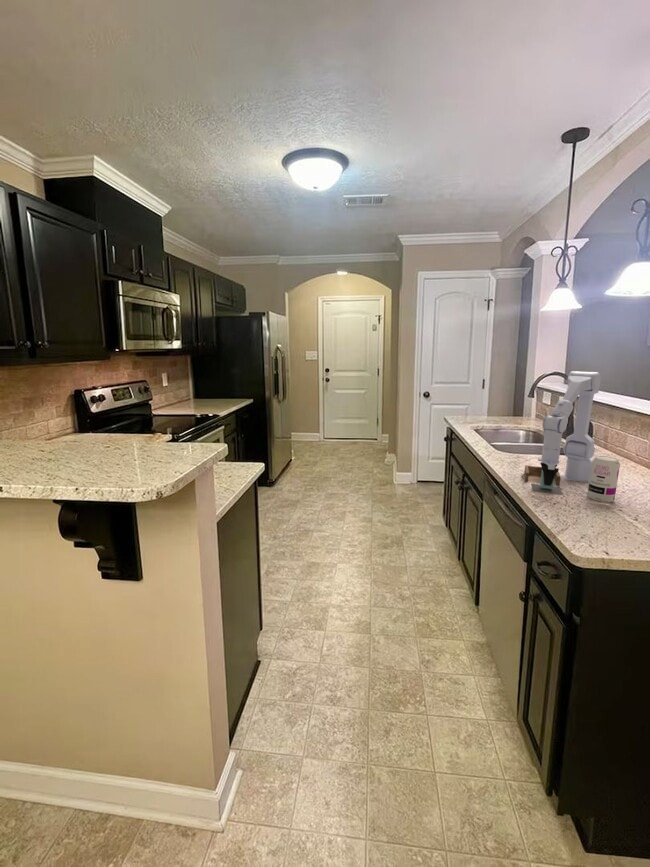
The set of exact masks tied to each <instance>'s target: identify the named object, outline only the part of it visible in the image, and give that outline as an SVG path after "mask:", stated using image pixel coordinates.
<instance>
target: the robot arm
mask: <svg viewBox="0 0 650 867" xmlns="http://www.w3.org/2000/svg"><path fill="white" fill-rule="evenodd" d="M566 380H567V382H566V383H567V388H566V391H565V394H564V395H563V398H562V399H561V400H559V401H557V402H556V404H555V406H554V408H553V409H552V411H551V413H550V415H548V416H545V417H544V418H543V421H542V424H541V426H542V435H543V436H544V437H543V444H542V453H541V457H540V458H539V457H538V458H537V461H539V462H540V467H542V470H543V473H544V484H545V485H548V486H551V484H552V482H553V479H554V477H555V475H556V473H557V472H559V470H560V469H559V467H558V465H559V463H560V455H561V447H562V446H561V445H562V439H563V433H564V432H565V431H566V429H567V427H568V426H567V424H568V421H569V419H568V418H569V417H570V415H571V413H572V412H573V410H574V405H573V403H574V402H576V399H577V398H578V400H577V401H578V402H577V408H576V415H575V420H574V421H575V422H574V428H573V433H571V434H570V435H569V436H567V437H566V438H565V442H564V445H563V449H562V452H563V453H564V455H565V457H566V458H567V459H566V463H565V464H566V466H565V473H563V474H562V476H563V478H564V480H566V481H575V482H583V483H589V479H590V472H591V465H592V461H593V459H592V458H593V456H594V455H595V454H594V453H595V443H596V442H595V440H594V438H592V437H591V436H590V435H589V434H588V432H589V429H590V428H589V427H590V422H591V414H592V407H593V403H594V402H593V401H594V397H595V394H598V393H599V391H600V388H601V382H602V378H601V374H600V373H599V372H598V371H596V372H594V371H590V372H589V371H576V370H572V371H570V373H569V374H568V376H567V379H566ZM557 467H558V468H557Z"/></svg>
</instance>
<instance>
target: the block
mask: <svg viewBox="0 0 650 867" xmlns="http://www.w3.org/2000/svg"><path fill="white" fill-rule="evenodd" d="M553 484H554V479H553V482H552V484H551V486H548V485H545V484H544V473H543V470H542V473H541V482H540V483H539V485H540V486H541V488H548V489H553V486H554V485H553Z"/></svg>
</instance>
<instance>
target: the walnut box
mask: <svg viewBox="0 0 650 867" xmlns="http://www.w3.org/2000/svg"><path fill="white" fill-rule="evenodd" d="M541 473H542V467H541V466H537V465H536V466H534V465H524V481H525V482H526V483H532V484H540V482H541ZM560 482H561V474H560V472H559V471H558V472H557V473H556V475H555V477H554V484H553V486H557V487H560Z"/></svg>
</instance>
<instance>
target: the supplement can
mask: <svg viewBox="0 0 650 867" xmlns="http://www.w3.org/2000/svg"><path fill="white" fill-rule="evenodd" d="M592 460H593V461H592V465H591V472H590V479H589V482H588V485H587V486H588V487H587V498H589V499H591V500H594V501H597V502H603V503H612V502H614V501H615V499H616V498H615V497H616V493H617V488H618V487H617V486H618V481H619V474H620V468H621V467H620V466H621V464H620V461H619V459H618V458H616V457H612V456H605V455H597V456H594V458H593V459H592Z"/></svg>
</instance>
